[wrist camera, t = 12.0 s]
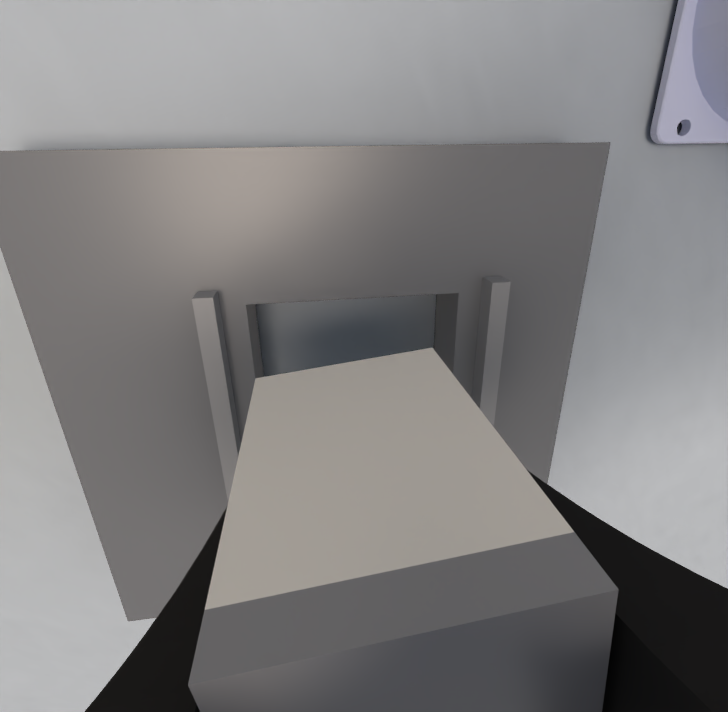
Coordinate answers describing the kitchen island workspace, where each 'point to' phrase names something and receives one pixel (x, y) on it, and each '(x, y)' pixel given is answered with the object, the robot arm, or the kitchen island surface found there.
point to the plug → (394, 558)
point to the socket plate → (276, 301)
